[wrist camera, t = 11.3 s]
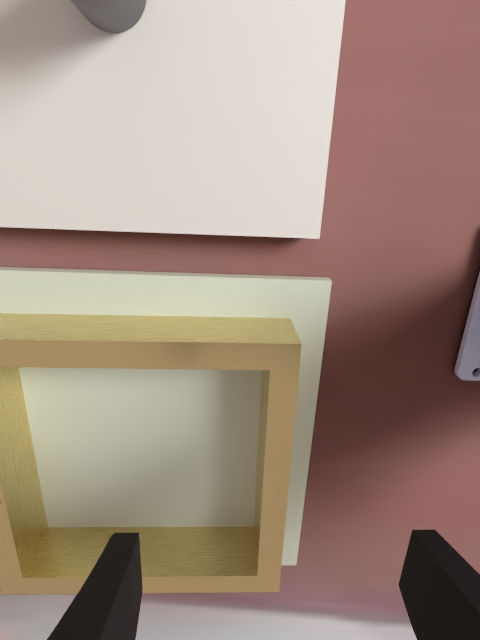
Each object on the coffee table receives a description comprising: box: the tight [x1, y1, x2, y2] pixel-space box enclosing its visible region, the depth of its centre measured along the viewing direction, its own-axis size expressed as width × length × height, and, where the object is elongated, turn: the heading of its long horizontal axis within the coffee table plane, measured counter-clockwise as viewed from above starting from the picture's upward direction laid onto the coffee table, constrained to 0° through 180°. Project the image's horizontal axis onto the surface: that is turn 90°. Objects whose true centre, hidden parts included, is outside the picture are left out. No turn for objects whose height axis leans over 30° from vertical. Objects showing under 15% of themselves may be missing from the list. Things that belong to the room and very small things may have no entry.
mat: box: [0, 267, 332, 565], centre depth 21 cm, size 18×18×1 cm
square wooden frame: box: [0, 313, 302, 595], centre depth 19 cm, size 14×14×3 cm
